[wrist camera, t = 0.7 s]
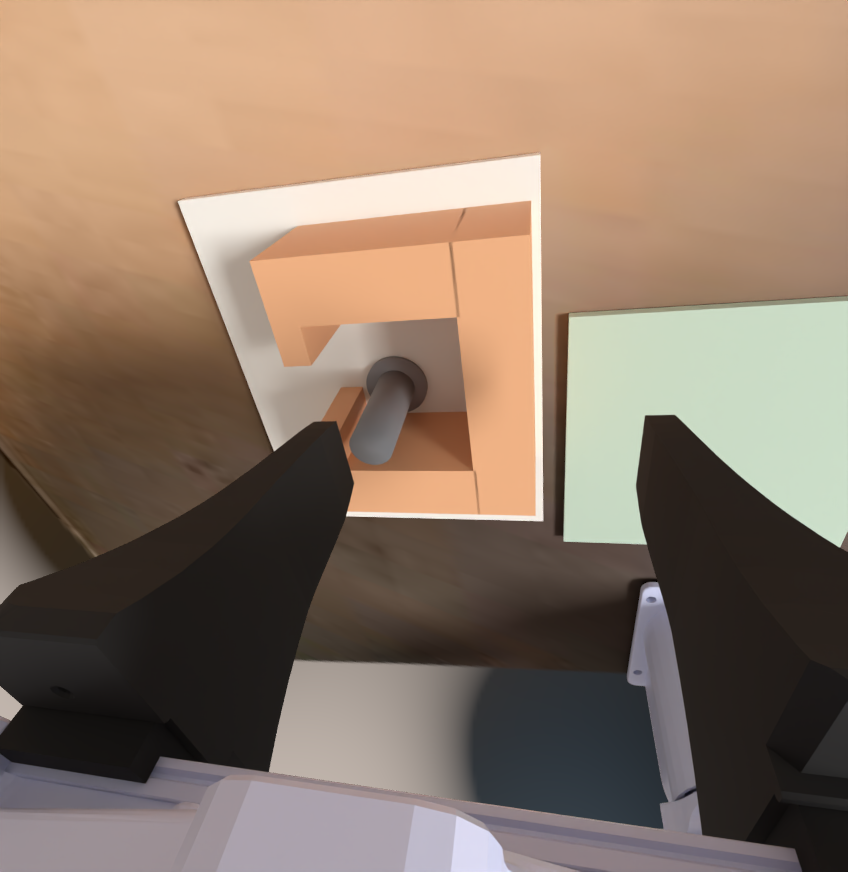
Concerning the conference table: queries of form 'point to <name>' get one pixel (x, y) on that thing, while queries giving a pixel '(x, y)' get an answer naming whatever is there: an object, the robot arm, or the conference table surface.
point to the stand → (364, 342)
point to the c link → (415, 300)
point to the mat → (710, 406)
